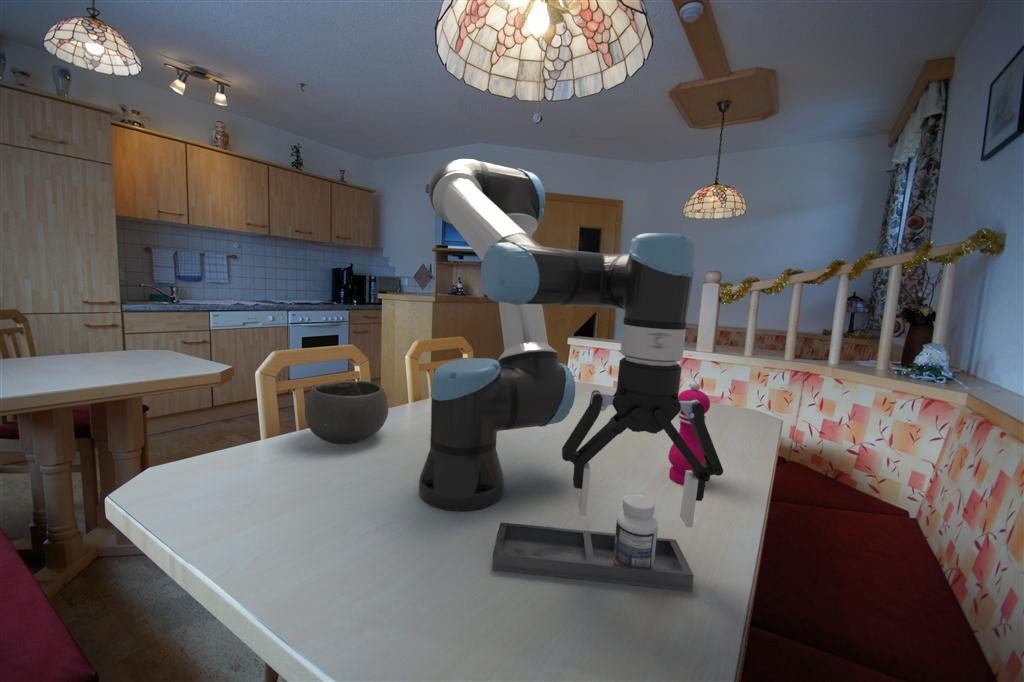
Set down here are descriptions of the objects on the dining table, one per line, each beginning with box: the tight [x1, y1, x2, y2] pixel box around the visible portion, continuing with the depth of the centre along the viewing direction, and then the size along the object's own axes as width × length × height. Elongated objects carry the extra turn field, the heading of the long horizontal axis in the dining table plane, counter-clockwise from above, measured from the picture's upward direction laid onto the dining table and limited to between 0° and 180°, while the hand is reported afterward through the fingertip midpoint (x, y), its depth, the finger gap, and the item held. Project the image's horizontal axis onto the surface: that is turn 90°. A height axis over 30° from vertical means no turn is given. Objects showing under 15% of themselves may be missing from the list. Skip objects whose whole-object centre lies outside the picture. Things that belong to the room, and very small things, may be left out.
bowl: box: [304, 380, 389, 446], centre depth 97 cm, size 18×18×13 cm
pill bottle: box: [614, 493, 659, 568], centre depth 56 cm, size 5×5×9 cm
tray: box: [491, 521, 695, 592], centre depth 57 cm, size 25×8×2 cm, turn 84°
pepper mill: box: [668, 381, 711, 486], centre depth 83 cm, size 7×7×20 cm
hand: (633, 516), depth 56 cm, fingers open, 13 cm apart
